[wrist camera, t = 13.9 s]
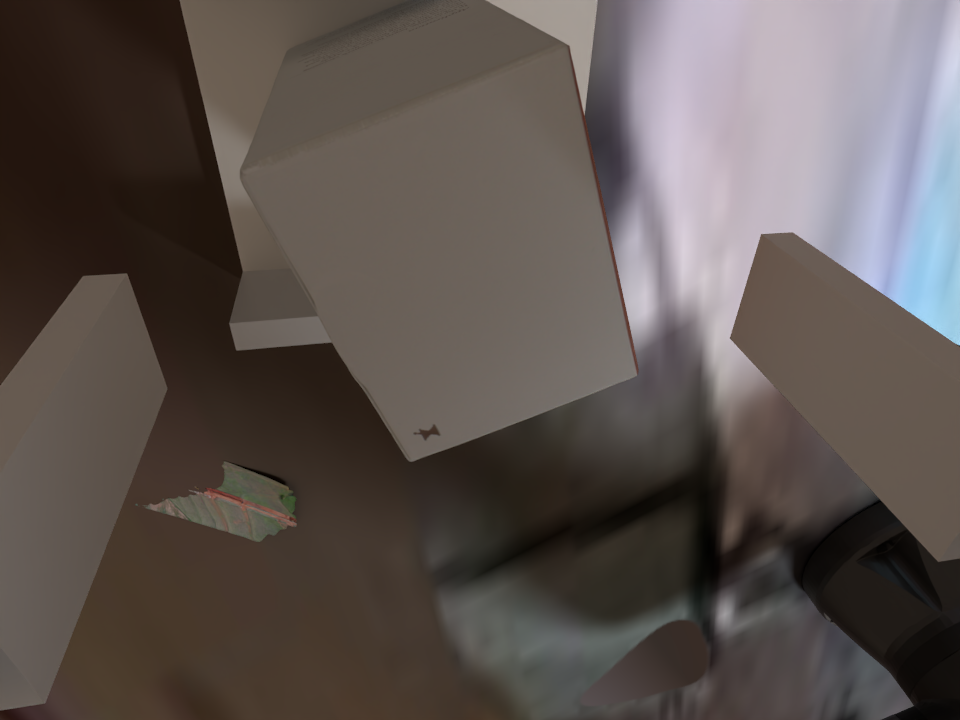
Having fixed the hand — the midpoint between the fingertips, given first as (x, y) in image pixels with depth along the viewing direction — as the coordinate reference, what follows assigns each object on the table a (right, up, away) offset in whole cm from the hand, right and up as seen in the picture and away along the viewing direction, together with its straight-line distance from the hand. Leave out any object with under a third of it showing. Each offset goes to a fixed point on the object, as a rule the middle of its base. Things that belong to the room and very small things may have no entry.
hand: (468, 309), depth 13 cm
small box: (-2, +8, +10) cm, 13 cm away
